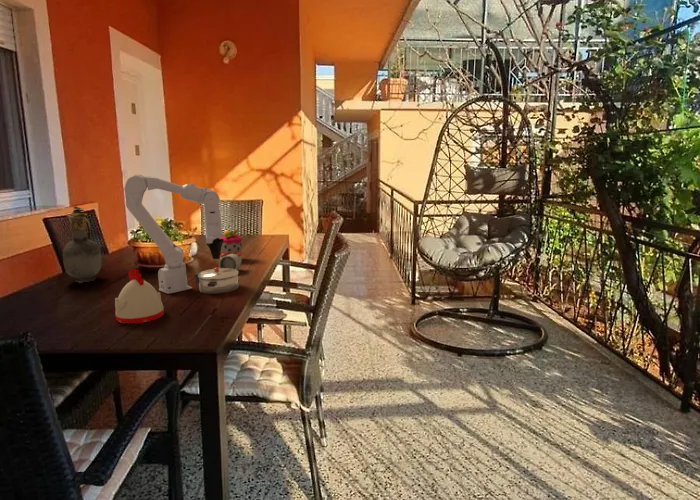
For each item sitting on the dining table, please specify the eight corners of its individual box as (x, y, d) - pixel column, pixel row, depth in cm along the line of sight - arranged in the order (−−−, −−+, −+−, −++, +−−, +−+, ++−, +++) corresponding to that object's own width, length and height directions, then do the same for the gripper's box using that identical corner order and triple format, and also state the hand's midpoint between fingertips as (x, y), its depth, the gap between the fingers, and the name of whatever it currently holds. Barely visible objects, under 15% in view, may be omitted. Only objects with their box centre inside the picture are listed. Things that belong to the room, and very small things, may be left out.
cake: (215, 262, 223) (213, 230, 220) (227, 257, 233) (225, 227, 230) (235, 263, 220) (233, 231, 217) (247, 258, 230) (245, 227, 227)
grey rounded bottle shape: (63, 286, 186) (52, 209, 180) (81, 274, 205) (71, 204, 199) (93, 285, 188) (83, 208, 182) (108, 273, 206) (100, 203, 200)
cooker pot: (189, 296, 170) (188, 282, 169) (205, 281, 190) (204, 269, 189) (231, 295, 170) (230, 282, 169) (243, 280, 190) (242, 268, 189)
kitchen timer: (150, 306, 160) (145, 262, 157) (172, 314, 152) (168, 268, 149) (107, 317, 150) (101, 270, 147) (129, 327, 141) (123, 277, 138)
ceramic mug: (242, 269, 209) (241, 251, 207) (237, 274, 201) (235, 255, 199) (219, 269, 210) (217, 252, 208) (212, 274, 202) (210, 256, 200)
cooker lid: (191, 280, 172) (190, 275, 171) (202, 270, 186) (202, 265, 186) (233, 279, 172) (233, 274, 171) (242, 269, 186) (241, 264, 186)
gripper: (218, 225, 172) (221, 262, 175) (228, 219, 186) (231, 254, 189) (198, 226, 172) (202, 263, 175) (210, 220, 187) (213, 254, 189)
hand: (216, 258), depth 182 cm, fingers closed
